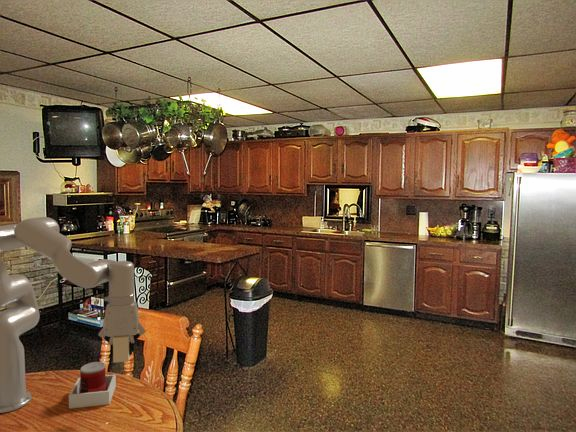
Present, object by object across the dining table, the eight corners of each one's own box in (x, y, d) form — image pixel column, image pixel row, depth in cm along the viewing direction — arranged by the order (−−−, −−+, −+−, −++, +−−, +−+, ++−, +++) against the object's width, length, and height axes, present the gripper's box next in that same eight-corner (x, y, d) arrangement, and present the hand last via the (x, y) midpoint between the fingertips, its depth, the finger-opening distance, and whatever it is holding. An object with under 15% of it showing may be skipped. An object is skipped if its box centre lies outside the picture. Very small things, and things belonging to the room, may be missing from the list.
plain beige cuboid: (113, 362, 128) (112, 338, 127) (117, 353, 135) (116, 330, 134) (128, 361, 129) (128, 337, 128) (131, 352, 136) (131, 329, 135)
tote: (69, 408, 133) (68, 395, 133) (79, 389, 145) (78, 377, 145) (109, 404, 136) (109, 391, 136) (115, 386, 148) (115, 374, 148)
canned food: (110, 391, 144) (109, 362, 143) (97, 403, 136) (96, 372, 135) (90, 390, 145) (89, 360, 144) (76, 402, 137) (75, 371, 136)
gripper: (90, 304, 125) (91, 361, 126) (148, 301, 129) (148, 357, 130) (96, 297, 132) (97, 351, 133) (150, 295, 136) (150, 347, 137)
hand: (122, 353), depth 132 cm, fingers closed on plain beige cuboid, 4 cm apart
